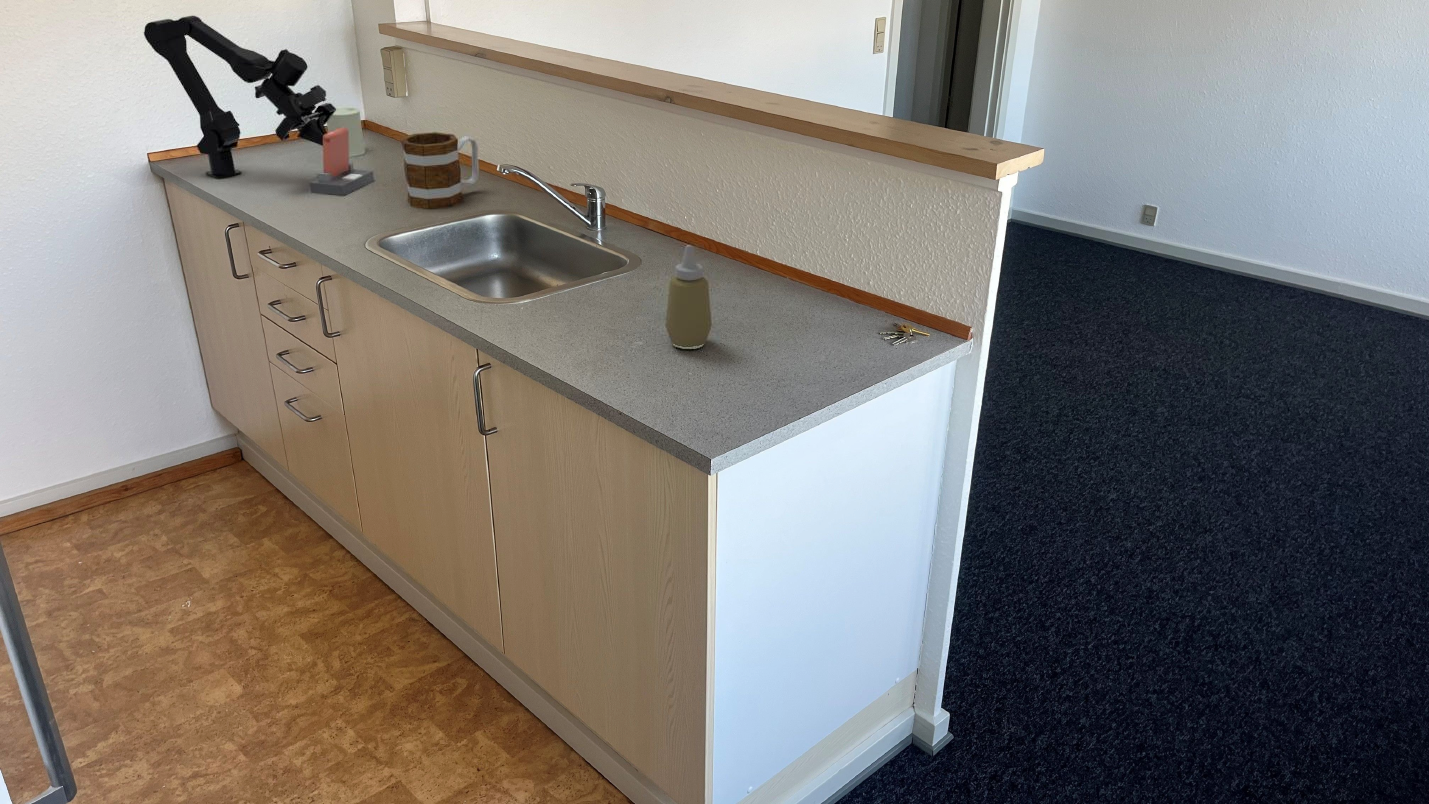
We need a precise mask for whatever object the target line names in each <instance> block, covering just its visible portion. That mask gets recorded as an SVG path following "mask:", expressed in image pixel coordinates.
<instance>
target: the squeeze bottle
mask: <svg viewBox="0 0 1429 804" xmlns="http://www.w3.org/2000/svg"><path fill="white" fill-rule="evenodd" d="M695 255H696V254H695V250H694V246H693V245H691V244H687V245H686V246H685V249H684V253H683V256H682V260H681V261H682V262H681V263H678V264H677V265H676V266H675V267H674V268H675V270H674V272H675V274H674V276H673V277H672V278H671V279H670V281H669V287H668V295H667V296H668V297H667V305H666V306H667V307H666V315H665V325H664V326H665V329H666V332H667V334H668V338H669V341H670V343H671V342H672V343H673V344H675V345H677V346H682V347H693V346H699V345H702V344H704V343H705V342H707V340H708V337H709V334H710V332H711V329H712V325H713V323H712V313H711V301H710V300H711V299H710V290H709V281H708V279H707V278H705V277H704V276H703V275H704V273H703V272H704V271H703V270H704V266H703V265H701V264H700V263H697V259H696V256H695ZM672 343H671V344H672ZM705 344H706V343H705Z"/></svg>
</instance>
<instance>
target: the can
mask: <svg viewBox="0 0 1429 804" xmlns="http://www.w3.org/2000/svg"><path fill="white" fill-rule="evenodd" d="M335 108H336V111H335V112H334V114H333V115H332V116H331V118H330V119H329V120H328V122H327V123H326V127H327V133H330V132H332V131H335V130H337V129H340V128H342V127H346V128H347V129H348V132H349V158H354V157H355V158H356V157H359V156H362V155H364V154H366V148H365V143H364V136H363V135H364V134H363V130H362V129H363V128H362V122H361V120H362V119H361V111H360V109H359V108H356V107H335Z"/></svg>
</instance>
